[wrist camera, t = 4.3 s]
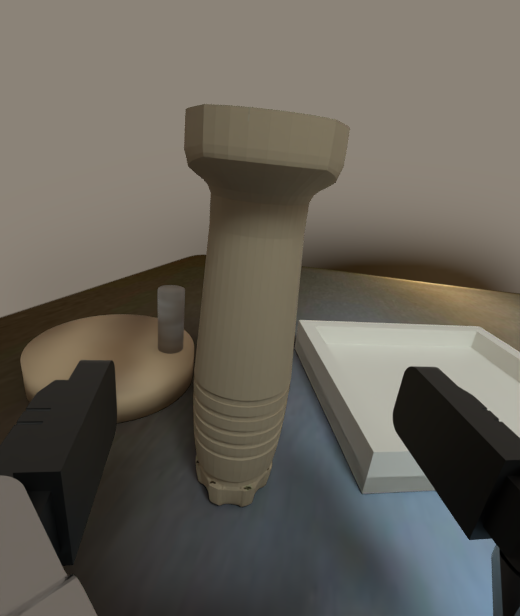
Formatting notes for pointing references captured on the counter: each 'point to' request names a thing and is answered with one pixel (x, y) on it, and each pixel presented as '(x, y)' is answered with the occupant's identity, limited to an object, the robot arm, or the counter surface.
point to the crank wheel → (121, 355)
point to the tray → (386, 382)
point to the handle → (251, 280)
